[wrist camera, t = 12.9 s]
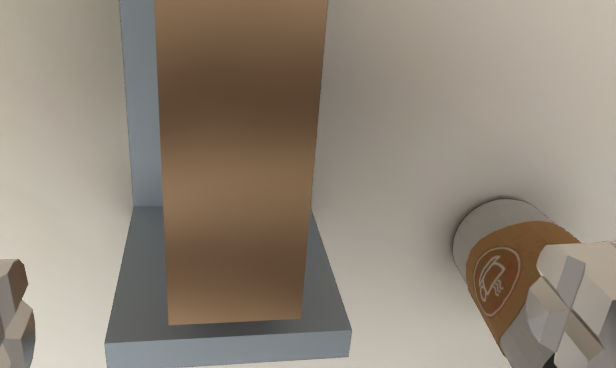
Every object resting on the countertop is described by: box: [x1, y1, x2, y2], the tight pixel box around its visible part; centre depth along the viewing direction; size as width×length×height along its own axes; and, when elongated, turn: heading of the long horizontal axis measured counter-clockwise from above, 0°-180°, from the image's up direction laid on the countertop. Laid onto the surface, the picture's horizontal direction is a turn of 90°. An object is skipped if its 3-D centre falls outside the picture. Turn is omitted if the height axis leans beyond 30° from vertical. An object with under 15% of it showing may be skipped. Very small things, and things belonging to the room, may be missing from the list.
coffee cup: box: [453, 199, 581, 368], centre depth 32 cm, size 8×8×15 cm
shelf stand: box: [104, 0, 352, 368], centre depth 24 cm, size 26×10×12 cm, turn 176°
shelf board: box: [154, 0, 328, 325], centre depth 20 cm, size 18×5×4 cm, turn 176°
